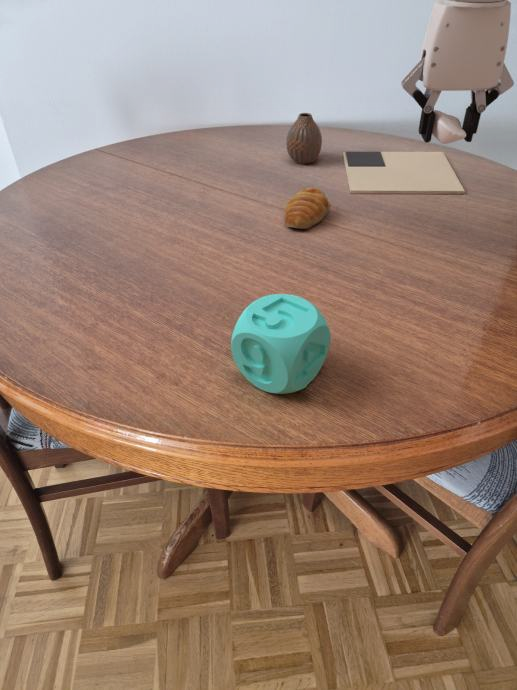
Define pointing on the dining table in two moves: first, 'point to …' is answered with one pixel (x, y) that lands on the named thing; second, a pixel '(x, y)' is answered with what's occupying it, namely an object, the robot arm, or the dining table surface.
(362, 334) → the dining table surface
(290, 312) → the decorative dice
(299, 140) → the vase
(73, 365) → the dining table surface
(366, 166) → the mat
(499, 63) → the robot arm
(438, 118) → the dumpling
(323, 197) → the pastry
